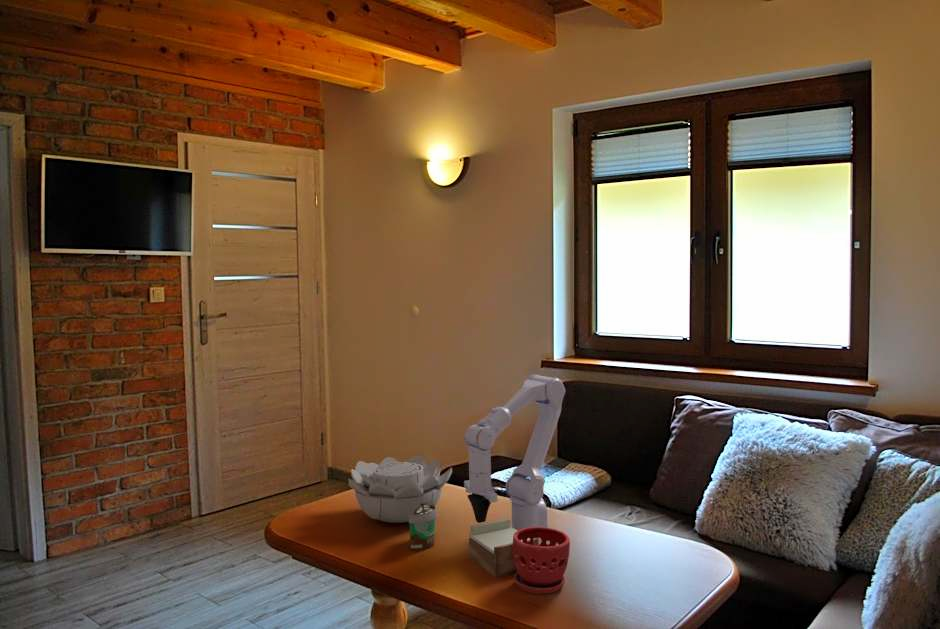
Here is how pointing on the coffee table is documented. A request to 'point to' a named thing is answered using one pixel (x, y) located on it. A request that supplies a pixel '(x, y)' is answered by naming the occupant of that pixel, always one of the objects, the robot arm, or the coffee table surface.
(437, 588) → the coffee table surface
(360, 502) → the decorative bowl
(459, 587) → the coffee table surface
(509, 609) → the coffee table surface
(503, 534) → the lid
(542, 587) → the plant pot
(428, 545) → the food container
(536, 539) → the box
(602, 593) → the coffee table surface
